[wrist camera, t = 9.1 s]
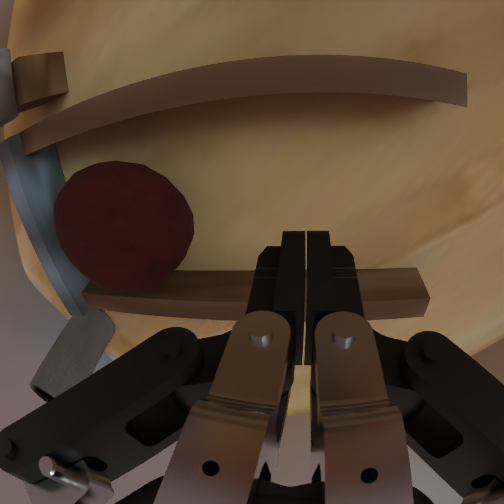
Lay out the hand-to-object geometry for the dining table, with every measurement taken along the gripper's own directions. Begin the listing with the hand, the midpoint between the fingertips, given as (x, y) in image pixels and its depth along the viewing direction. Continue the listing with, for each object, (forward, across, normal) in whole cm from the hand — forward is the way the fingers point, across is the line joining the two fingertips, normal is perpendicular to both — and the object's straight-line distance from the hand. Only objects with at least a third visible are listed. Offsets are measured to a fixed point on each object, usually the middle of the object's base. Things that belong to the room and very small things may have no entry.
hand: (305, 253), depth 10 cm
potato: (+7, +10, +1) cm, 12 cm away
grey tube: (+6, +20, +13) cm, 25 cm away
